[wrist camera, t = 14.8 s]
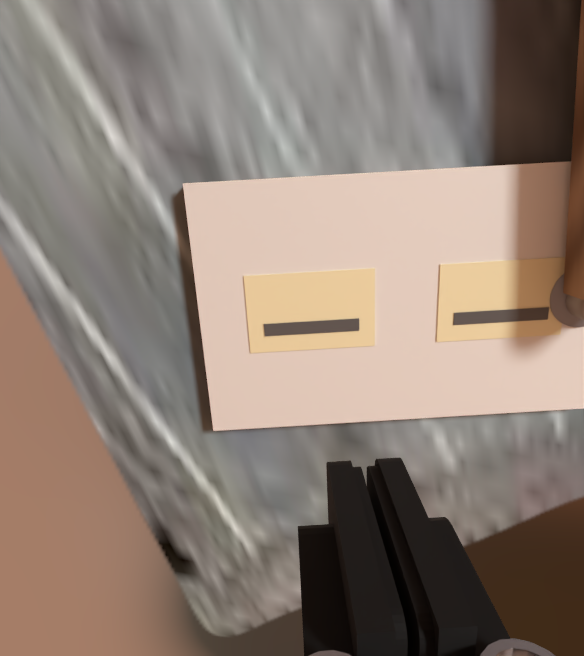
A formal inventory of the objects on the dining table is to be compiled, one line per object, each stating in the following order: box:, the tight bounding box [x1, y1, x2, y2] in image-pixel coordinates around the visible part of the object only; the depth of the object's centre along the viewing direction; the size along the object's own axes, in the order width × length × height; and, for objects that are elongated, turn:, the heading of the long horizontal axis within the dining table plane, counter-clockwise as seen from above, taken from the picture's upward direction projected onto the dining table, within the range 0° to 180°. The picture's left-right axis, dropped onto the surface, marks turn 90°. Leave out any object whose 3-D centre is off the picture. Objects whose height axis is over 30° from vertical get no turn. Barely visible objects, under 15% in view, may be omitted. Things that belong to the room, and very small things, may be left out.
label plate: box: [183, 161, 584, 431], centre depth 27 cm, size 26×16×2 cm, turn 93°
